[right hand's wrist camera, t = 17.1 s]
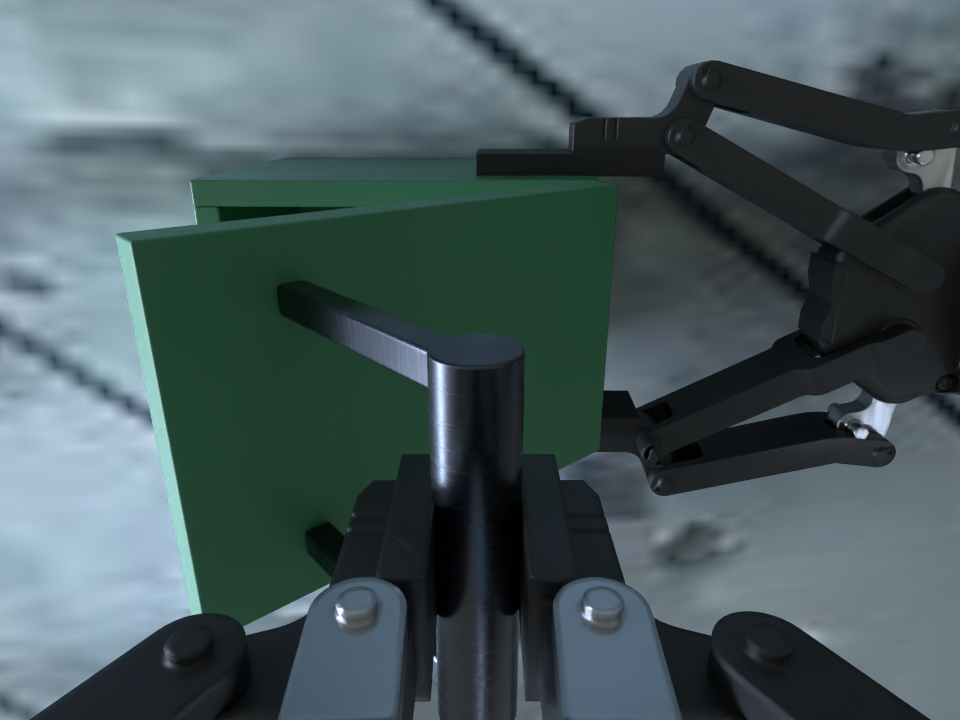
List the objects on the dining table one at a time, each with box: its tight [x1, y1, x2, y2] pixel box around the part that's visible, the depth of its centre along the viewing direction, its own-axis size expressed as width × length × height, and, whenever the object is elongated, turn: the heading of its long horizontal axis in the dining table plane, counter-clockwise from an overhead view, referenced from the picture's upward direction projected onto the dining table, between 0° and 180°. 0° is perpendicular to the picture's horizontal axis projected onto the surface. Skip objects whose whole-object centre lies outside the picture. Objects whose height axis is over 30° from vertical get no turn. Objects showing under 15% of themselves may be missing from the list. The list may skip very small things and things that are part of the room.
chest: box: [190, 158, 601, 225], centre depth 28 cm, size 14×9×10 cm
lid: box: [115, 182, 618, 720], centre depth 16 cm, size 14×9×8 cm
